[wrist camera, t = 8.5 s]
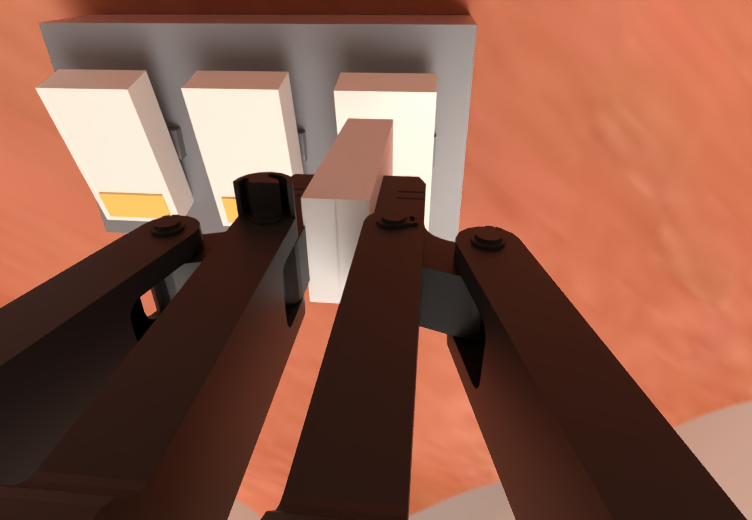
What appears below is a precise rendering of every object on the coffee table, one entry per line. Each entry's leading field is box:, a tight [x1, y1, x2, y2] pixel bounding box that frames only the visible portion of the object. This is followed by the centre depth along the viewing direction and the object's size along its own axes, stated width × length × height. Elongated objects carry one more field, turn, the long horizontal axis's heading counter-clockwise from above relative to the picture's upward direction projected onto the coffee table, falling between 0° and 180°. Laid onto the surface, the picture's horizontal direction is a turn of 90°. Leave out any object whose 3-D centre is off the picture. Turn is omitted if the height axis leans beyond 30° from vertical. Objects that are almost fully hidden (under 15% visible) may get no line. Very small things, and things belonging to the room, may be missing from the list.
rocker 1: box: [35, 69, 194, 221], centre depth 26 cm, size 8×4×2 cm, turn 179°
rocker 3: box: [334, 72, 437, 231], centre depth 25 cm, size 8×4×2 cm, turn 179°
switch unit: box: [39, 14, 477, 242], centre depth 29 cm, size 13×22×6 cm, turn 90°
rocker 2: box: [181, 70, 304, 226], centre depth 25 cm, size 8×4×2 cm, turn 179°
